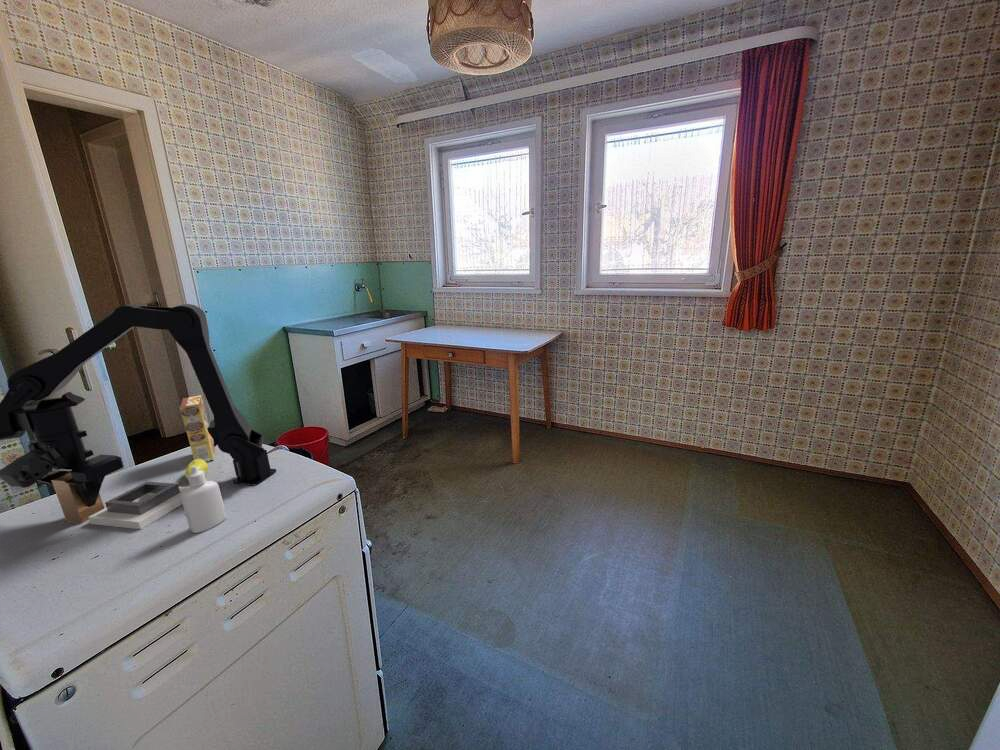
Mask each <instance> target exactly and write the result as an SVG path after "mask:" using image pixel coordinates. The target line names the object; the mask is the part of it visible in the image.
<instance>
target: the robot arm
mask: <svg viewBox="0 0 1000 750" xmlns="http://www.w3.org/2000/svg"><path fill="white" fill-rule="evenodd" d="M206 315H207V314H206V313H205V312H204V310H203V309H202V308H200V307H199V306H197V305H195V304H191V303H183V304H180V305H176V306H174V307H170V306H151V305H149V306H148V305H137V304H134V303H132V304H131V303H130V304H125V305H124V304H123V305H120V306H118V307H116V308H115V309H114V310H113V312H112V313H110V314H109V315H107V316H106V317H105V318H104V319H102V320H100V321H99V322H97V324H95V325H94V326H92V327H91V328H89V329H88V330H87V331H85V332H84V333H82V334H80V335H79V336H78V337H77V338H75V339H74V340H72V341H71V342H70V343H69V344H67V345H65V346H64V347H63V348H61V349H60V350H59V351H57V352H55V353H53V354H51V355H48V356H46V357H44V358H42V359H40V360H38V361H35V362H34V363H33V362H32V364H31V363H30V364H29V365H27V366H25V367H23V368H21V369H19V370H17V371H14V372H13V373H12V374H10V375H9V376H8V378H7V380H6V383H7V387H8V391H6V394H5V395H4V397H3V398H2V400H1V401H0V441H5V440H11V439H18V438H19V439H20V438H21V437H23V436H24V435H25V434H26V432H27V431H29V430H31V433H32V435H33V438H34V440H32V441H29V442H28V443H29V444H28V445H27V446H28V447H27V448H28V449H29V452H26V453H25V454H23V455H22V456H19V457H18V458H16V459H14V460H13V461H11V462H10V463H9V464H7V465H6V466H4V467H3V468H1V469H0V479H1V480H2V481H4V482H5V483H6V484H7V485H9V486H10V487H12V488H13V487H18V488H19V487H20V488H23V489H26V488H29V487H31V486H33V485H34V484H37V482H40V483H45V484H48V485H49V486H50V487H51V488H52V489H53V490H54V491H55V489H54V486H53V483H52V481H51V480H53V479H55V478H57V477H60V476H62V475H65V474H67V473H71V476H72V479H70V480H68V481H65V482H64V483H67V484H71V485H75V486H76V487H77V489H78V491H79V493H80V495H81V497H82V498H83V500H84V502H85V503H86V505H87V506H88V507H91V506H93V505H95V504H96V501H97V497H98V494H99V493H100V492H101V491H100V490H101V488H102V485H103V482H104V479H105V477H106V476H107V475H111V474H112V473H114V472H117V471H119V470H121V469H124V466H125V465H124V461H123V459H122V457H121V456H118V455H113V454H99V455H96V456H94V452H93V450H91V449H86V447H85V444H84V441H83V438H84V437H87V436H88V433H87V431H86V430H80V429H79V426H78V423H77V420H76V417H75V415H74V411H73V409H72V408H73V407H77V406H78V405H80V404H82V403H84V402H85V400H86V398H85V397H83V396H80V395H77V394H74V393H72V392H71V391H67V392H65V393H64V394H62V395H61V397H53V398H48V397H49V396H51V395H53V394H55V393H57V392H59V391H61V390H62V389H64V388H65V387H66V386H67V385H69V383H70V382H71V381H72V379H74V378H75V376H76V375H77V374H78V373H79V372H80V370H81V368H82V367H84V365H85V364H86V363H87V362H88V361H90V360H91V359H93V358H94V357H96V356H97V355H98V354H100V353H101V352H103V350H105V349H106V348H108V347H109V346H110V345H112V344H114V343H115V342H116V341H117V340H119V339H120V338H122V337H123V336H124V335H126V334H128V332H130V331H131V330H132V329H134V328H135V327H137V328H143V329H144V328H146V329H153V330H163V331H168V332H169V333H170V335H171V337H172V338H173V340H174V341H175V342H176V344H178V345H179V346H180V347H181V348H182V350H183V351H184V352H185V353H186V355H187V357H188V359H189V362H190V364H191V366H192V369H193V372H194V373H195V376H196V378H197V380H198V383H199V385H200V387H201V389H202V392H203V394H204V397H205V399H206V401H207V404H208V406H209V408H210V411H211V413H212V415H213V419H211V421H210V423H209V427H208V429H207V430H208V432H209V434H210V435H211V437H212V439H213V443H214V447H215V448H216V447H218V449H219V450H220V451H221V452H222V453H226V454H229V456H230V457H231V458H232V459H233V460H232V463H233V468H234V472H235V476H236V478H234V479H233V480H231V482H232V484H241V485H253V486H256V485H258V484H260V483H261V482H263V481H264V480H266V479H268V478H269V477H270V476H272V475H274V474H275V473H276V472H277V469H276V468H271V465H270V461H269V454H268V451H267V449H265V448H264V447H263V445H264V444H263V443H264V442H263V441H264V437H265V435H264V434H262V433H260V432H258V431H256V430H255V429H252V427H251V425H250V424H249V422H248V421H247V420H246V418H245V417H244V415H243V414H242V413H241V411H239V409H238V408H237V407H236V405H235V404H234V401H233V399H232V397H231V394H230V392H229V389H228V387H227V384H226V382H225V380H224V377H223V374H222V372H221V370H220V367H219V365H218V362H217V360H216V357H215V355H214V353H213V350H212V348H211V344H210V332H209V326H208V321H207V316H206ZM45 398H47V399H45ZM34 401H39V402H38V403H37V404H35V405H28V404H29V403H31V402H34ZM25 405H28V406H25ZM91 456H93V457H92V458H91ZM89 457H90V459H87V458H89Z"/></svg>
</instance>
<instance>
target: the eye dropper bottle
mask: <svg viewBox="0 0 1000 750" xmlns="http://www.w3.org/2000/svg"><path fill="white" fill-rule="evenodd" d="M187 477H188V479H187V481H188V483H189V486H188V487H189V488H188V489H186V490H185V491H184V492H183V493H182V495H181V499H182V503H183V504H182V505H183V506H182V507H183V510H184V514H185V517H186V521H187V524H188V529H189V531H191V532H192V533H194V534H199V533H202V532H205V531H208V530H210V529H212V528H214V527H216V526H218V525H220V524H221V523H223V522H224V521H225V520H226V519H227V513H226V508H225V505H224V501H223V497H222V494H221V490H220V486H219V483H217V482H216V481H214V480H207V479H206V476H205V474H204V471H199V470H198V469H197V467H196V466H192V467H191V473H190V474H189V475H188V476H187Z"/></svg>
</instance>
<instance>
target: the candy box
mask: <svg viewBox="0 0 1000 750" xmlns="http://www.w3.org/2000/svg"><path fill="white" fill-rule="evenodd" d="M179 411H180V415H181V418H182V421H183V426H184V428H185V431H186V435H187V439H188V442H189V445H190V449H191V453H192V456H193V460H195V459H202V460H204V461H209V462H211V461H210V460H213V461H214V460H215V456H214V455H215V452H216V446H215V447H214V441H213V438H212V437H211V435H210V434H209V432H208V430H207V429H208V427H209V425H210V423H209V420H208V417H207V414H206V413H207V412H206V409H205V405H204V401H203V398H202V395H195V396H189V397H183V398H182V400H181V403H180V406H179Z"/></svg>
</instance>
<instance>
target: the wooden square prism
mask: <svg viewBox="0 0 1000 750" xmlns="http://www.w3.org/2000/svg"><path fill="white" fill-rule="evenodd" d="M70 479H72V476H71V473H67V474H65V475H62V476H60V477H57V478H55V479H53V480H51V481H52V483H53V486H54V489H55V490H54V489H53V490H54V491H55V495H56V497H57V499H58V502H59V505H60V508H61V511H62V512H63V516H64V518H65V521H66V522H69V523H78V524H85V522H87V521H89V518H88V517H89V516H91V515H93V514H95V513H97V512H99V511H101V510H103V509H105V508H106V507H105V505H104V502H103V500H102V497H101V493H100V492H99V494H98V497H97V501H96V504H95V505H93V506H91V507H88V506H87V505H86V503H85V502H84V500H83V498H82V497H81V495H80V493H79V491H78V489H77V487H76V486H75V485H71V484H67V483H64V482H65V481H68V480H70Z"/></svg>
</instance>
